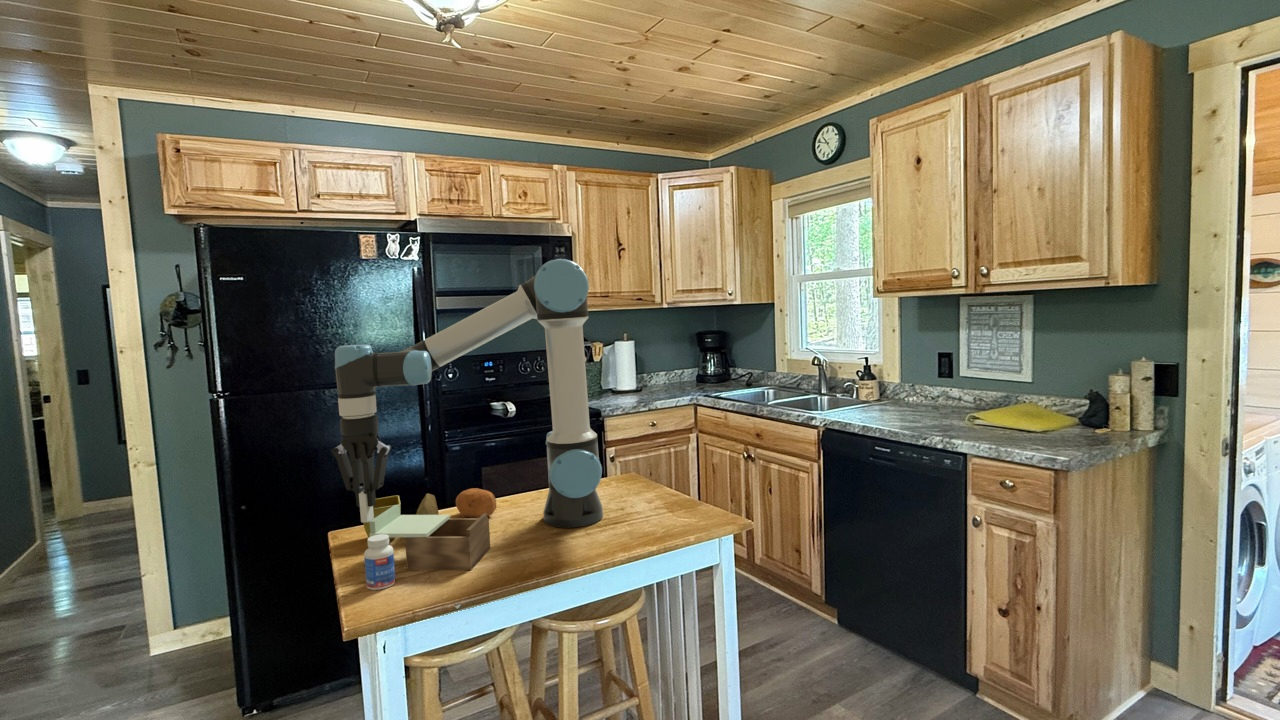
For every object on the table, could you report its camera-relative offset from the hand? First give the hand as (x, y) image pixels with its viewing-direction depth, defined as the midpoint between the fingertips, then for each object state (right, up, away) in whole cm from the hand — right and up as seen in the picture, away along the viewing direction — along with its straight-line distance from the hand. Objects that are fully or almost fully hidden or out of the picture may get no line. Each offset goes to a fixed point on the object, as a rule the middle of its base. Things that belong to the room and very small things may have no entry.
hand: (367, 520), depth 140 cm
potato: (+17, -6, +27) cm, 32 cm away
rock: (+8, -8, +13) cm, 17 cm away
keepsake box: (+19, -8, -1) cm, 20 cm away
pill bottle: (+8, -10, -13) cm, 19 cm away
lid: (+10, -1, -1) cm, 10 cm away
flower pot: (-2, -8, +13) cm, 15 cm away
